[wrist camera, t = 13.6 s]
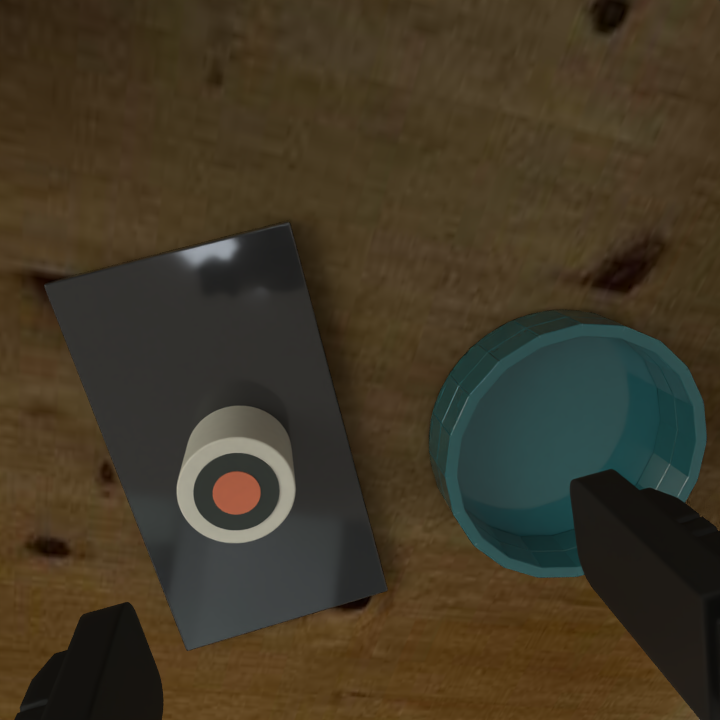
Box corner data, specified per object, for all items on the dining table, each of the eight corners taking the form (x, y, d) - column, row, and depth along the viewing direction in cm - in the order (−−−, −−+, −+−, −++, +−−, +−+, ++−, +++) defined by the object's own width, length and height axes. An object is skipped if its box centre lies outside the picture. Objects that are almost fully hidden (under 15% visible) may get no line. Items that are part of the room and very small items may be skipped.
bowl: (454, 569, 36) (474, 609, 33) (404, 348, 32) (421, 368, 29) (674, 503, 37) (715, 535, 34) (652, 280, 33) (695, 292, 30)
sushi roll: (205, 512, 32) (197, 559, 28) (172, 421, 31) (159, 457, 27) (303, 483, 32) (309, 526, 29) (275, 392, 31) (277, 424, 27)
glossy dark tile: (188, 639, 35) (186, 652, 34) (49, 281, 29) (42, 284, 28) (384, 580, 36) (388, 591, 35) (289, 219, 30) (290, 221, 29)
